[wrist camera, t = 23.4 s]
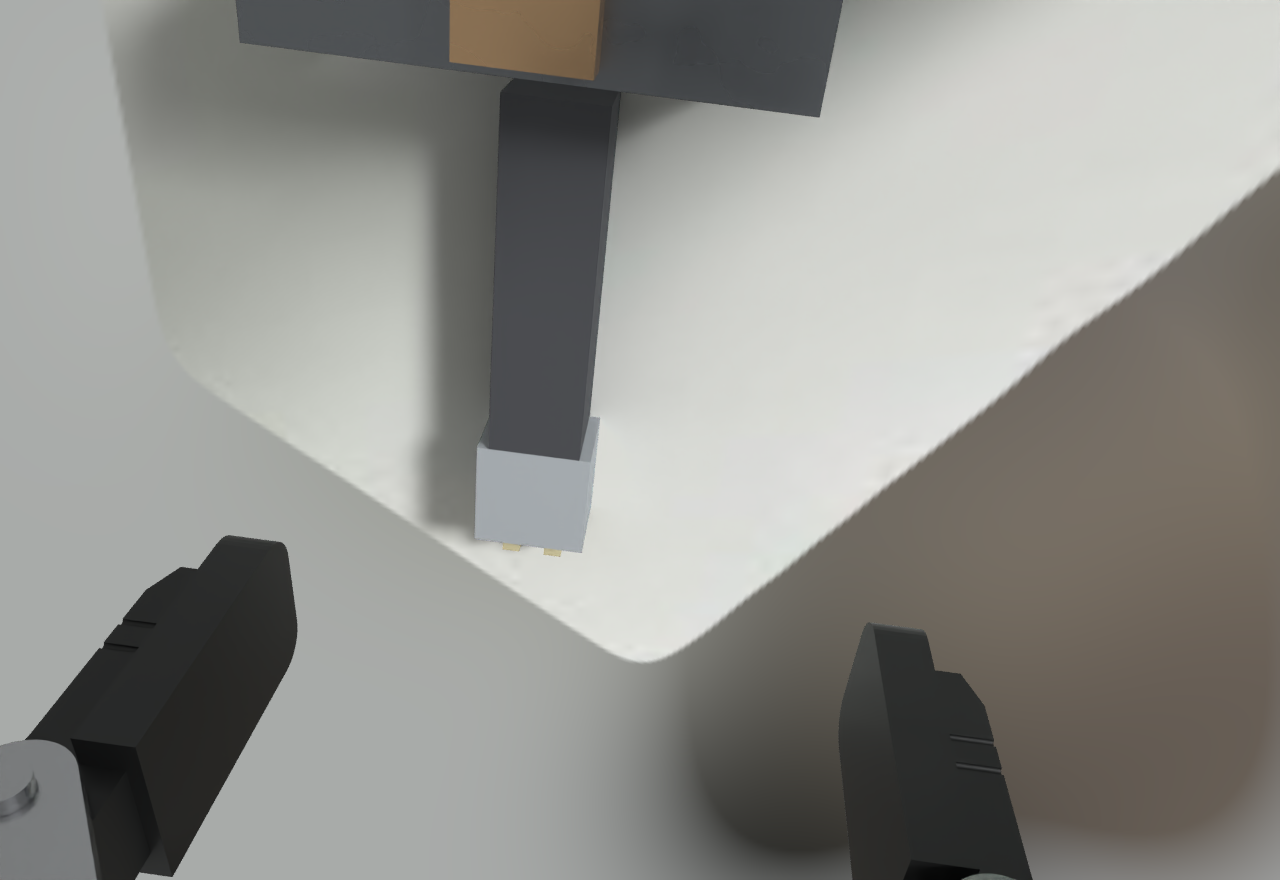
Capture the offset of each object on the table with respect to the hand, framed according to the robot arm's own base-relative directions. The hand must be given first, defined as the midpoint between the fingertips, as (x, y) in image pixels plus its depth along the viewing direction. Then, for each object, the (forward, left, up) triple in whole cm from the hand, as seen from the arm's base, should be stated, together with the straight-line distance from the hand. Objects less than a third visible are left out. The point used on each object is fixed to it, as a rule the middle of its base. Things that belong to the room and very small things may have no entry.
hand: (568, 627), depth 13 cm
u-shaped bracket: (+4, -5, -29) cm, 30 cm away
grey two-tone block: (+4, +8, -29) cm, 31 cm away
